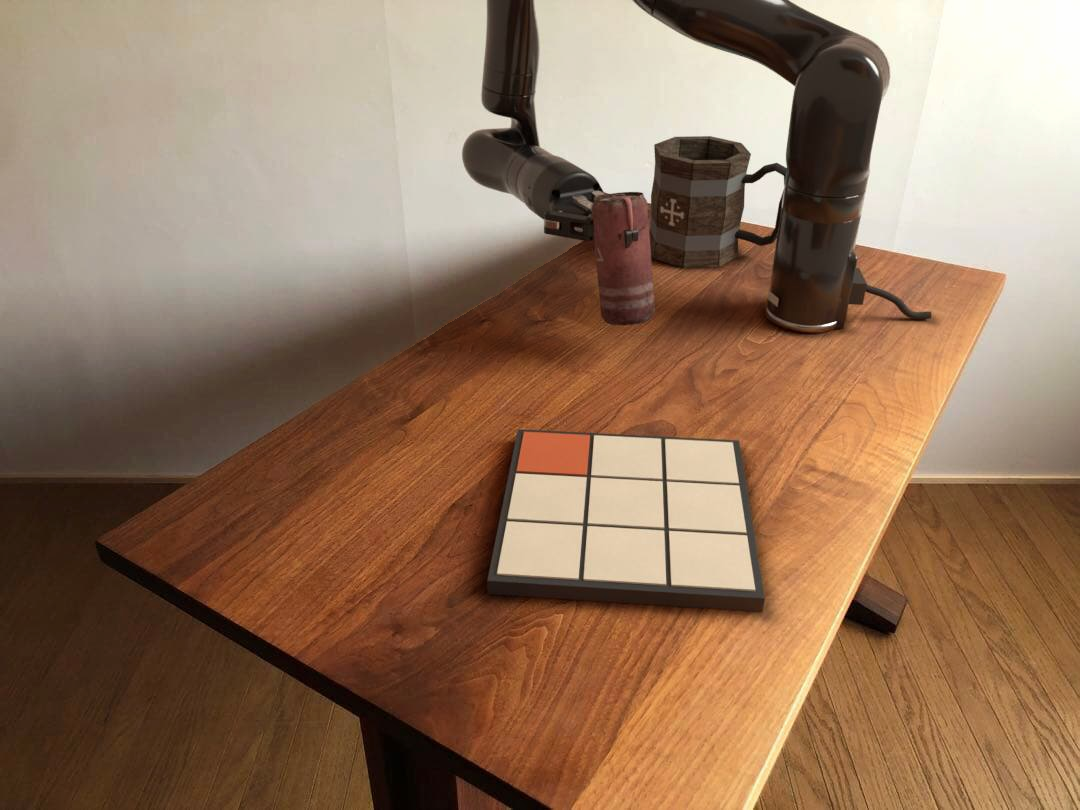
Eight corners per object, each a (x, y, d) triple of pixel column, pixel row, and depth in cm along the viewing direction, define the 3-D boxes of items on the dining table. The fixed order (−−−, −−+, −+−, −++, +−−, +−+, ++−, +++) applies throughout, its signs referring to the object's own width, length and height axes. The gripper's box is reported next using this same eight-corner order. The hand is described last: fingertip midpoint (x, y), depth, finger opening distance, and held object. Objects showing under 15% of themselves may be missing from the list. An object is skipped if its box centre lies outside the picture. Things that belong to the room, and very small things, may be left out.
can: (620, 329, 100) (609, 201, 96) (592, 319, 106) (580, 197, 101) (666, 318, 103) (658, 192, 98) (637, 308, 108) (628, 188, 103)
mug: (636, 261, 131) (642, 158, 123) (657, 228, 142) (664, 131, 134) (775, 280, 126) (791, 173, 118) (785, 244, 136) (801, 144, 128)
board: (737, 452, 91) (739, 438, 90) (762, 612, 72) (765, 596, 71) (518, 441, 93) (517, 427, 92) (487, 594, 74) (487, 578, 73)
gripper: (507, 169, 107) (579, 217, 94) (605, 153, 112) (686, 196, 99) (509, 230, 111) (577, 284, 98) (603, 212, 116) (681, 261, 103)
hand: (632, 240), depth 98 cm, fingers closed
